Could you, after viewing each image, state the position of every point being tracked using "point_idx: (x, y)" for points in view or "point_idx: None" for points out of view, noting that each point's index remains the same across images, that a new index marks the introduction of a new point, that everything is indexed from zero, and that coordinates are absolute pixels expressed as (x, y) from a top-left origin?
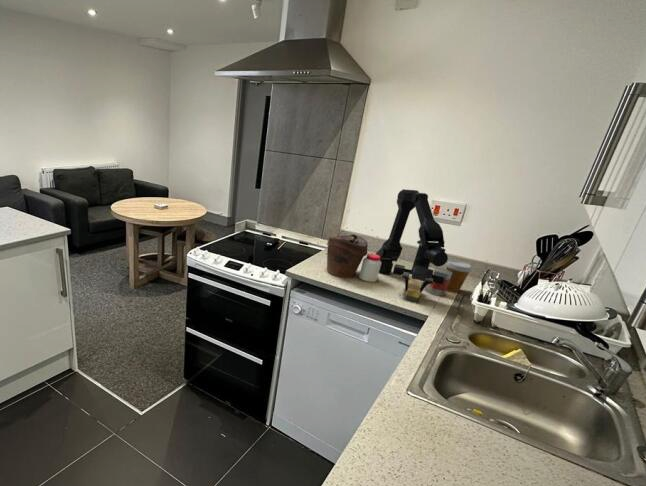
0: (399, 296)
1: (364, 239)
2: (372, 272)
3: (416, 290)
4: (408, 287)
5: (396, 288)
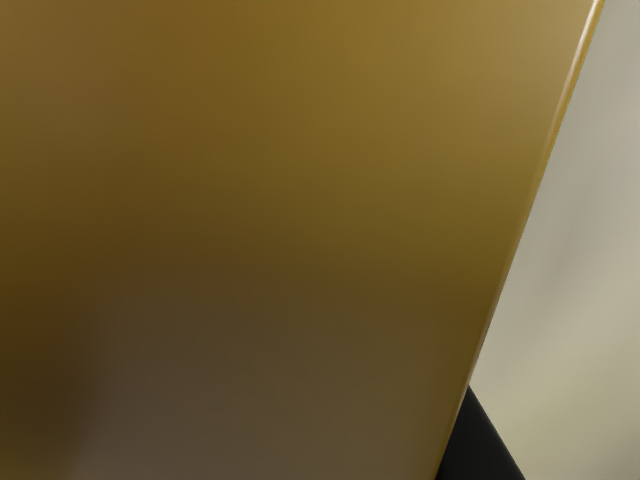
0: (634, 38)
1: None
2: None
3: (9, 141)
4: (476, 347)
5: (547, 453)
